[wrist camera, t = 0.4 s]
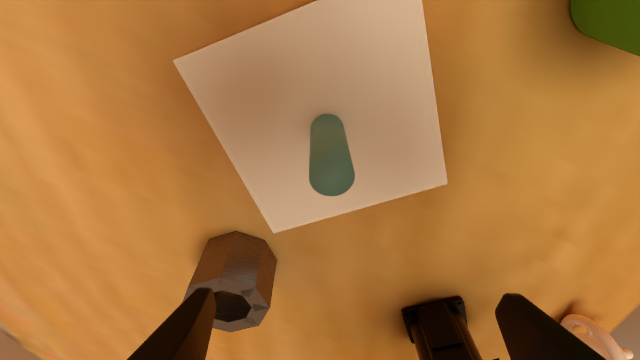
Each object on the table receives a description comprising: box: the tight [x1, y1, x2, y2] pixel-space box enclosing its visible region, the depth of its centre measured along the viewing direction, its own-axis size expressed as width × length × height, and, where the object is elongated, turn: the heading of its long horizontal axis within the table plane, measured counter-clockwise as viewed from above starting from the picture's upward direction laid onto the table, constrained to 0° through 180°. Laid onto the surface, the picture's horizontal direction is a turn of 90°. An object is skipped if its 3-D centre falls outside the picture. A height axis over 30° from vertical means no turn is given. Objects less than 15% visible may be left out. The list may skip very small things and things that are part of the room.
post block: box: [172, 0, 448, 234], centre depth 17 cm, size 14×14×8 cm
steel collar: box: [183, 231, 277, 332], centre depth 25 cm, size 6×6×5 cm
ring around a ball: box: [560, 314, 633, 360], centre depth 30 cm, size 8×6×8 cm
